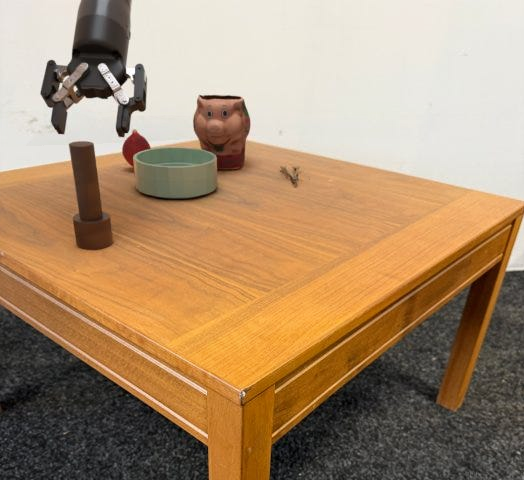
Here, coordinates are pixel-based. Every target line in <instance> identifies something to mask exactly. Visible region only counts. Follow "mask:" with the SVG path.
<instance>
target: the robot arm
mask: <svg viewBox="0 0 524 480" xmlns="http://www.w3.org/2000/svg"><path fill="white" fill-rule="evenodd" d="M132 5H133V0H80V3H79V5H78V8H77V15H76V22H75V28H74V34H73V40H72V41H73V42H72V47H71V59H70V61H69V62H68V64H67V65H63V64H57V62H56V61H55V60H54V59H49V60H47V62H46V66H45V70H44V75H43V80H42V84H41V89H40V91H39V92H40V96H41V98H42V99H43V101H44V103H45V104H46V106H47V108H49V109H52V110H51V116H50V123H51V125H52V127H53V129H54V130H55V131H56V132H57V134H58V135H65V134H66V126H67V120H68V110H69V109H70V108H71V107H72V106H73V105H74V104H75V105H76V104H79V103H80V102H81V101H82V100H83V99H84V98H85V99H95V98H97V99H101V100H108V99H109V98H110V97H112V98H113V99H114V101H115V102H116V104H117V111H116V112H117V113H116V119H115V120H116V122H115V131H116V134H117V136H118V137H119V138H125V136H126V134H129V132H130V129H131V120H132V114H133V113H134V112H137V111H138V112H139V113H140V112H141V113H143V112H145V111H146V109H147V93H148V77H147V73H146V70H145V66H144V64H143V63H137V64H135V66H134V67H127V62H128V53H129V45H130V40H131V37H132V36H131V34H132V33H131V30H132V29H131V28H132V21H131V20H132V19H131V15H132ZM66 77H67V78H66ZM65 78H66V79H65ZM64 79H65V80H64ZM128 80H130V81H131V84H132V85H133V96H131V97H128V96H127V94H126V93H125V92H124V90H123V88H122V86H123V85H124V84H125V83H126V82H127V81H128ZM61 84H62V85H61ZM60 85H61V87H60ZM75 88H76V90H75Z"/></svg>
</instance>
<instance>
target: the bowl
mask: <svg viewBox="0 0 524 480" xmlns="http://www.w3.org/2000/svg"><path fill="white" fill-rule="evenodd" d="M133 162H134V167H133V172H134V183H135V184H134V185H135V188H136V189H137V191H138V192H139V193H143V194H145V195H147V196H152V197H155V198H160V199H170V200H178V199H179V200H180V199H192V198H197V197H201V196H205V195H208V194H210V193H213V192H214V191H216V189H217V188H218V169H217V157H216V155H215V154H213V153H212V152H209V151H206V150H202V149H201V148H196V147H195V148H194V147H186V146H185V147H183V146H167V147H155V148H151V149H148V150H144V151H141V152H138V153H136V154H135V155H134V157H133Z"/></svg>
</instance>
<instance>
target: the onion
mask: <svg viewBox="0 0 524 480" xmlns="http://www.w3.org/2000/svg"><path fill="white" fill-rule="evenodd" d="M131 131H132V132H131V134H130V135H129V136H128V137H127V138H126V139H125V140H124V141H123V144H122V147H121V150H122V151H121V152H122V156H123V158H124V160H125V161H126V162H127V164H129V165H130V166H131V167H133V168H134V162H133V157H134V155H135V154H136V153H138V152H141V151H144V150H148V149H152V148H151V145H150V143H149V141H148V140H147V139H146V138H145V136H143V135H141V134H140V133H139V132H138V130H137V129H135V128H133V129H132V130H131Z"/></svg>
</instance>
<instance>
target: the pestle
mask: <svg viewBox="0 0 524 480" xmlns="http://www.w3.org/2000/svg"><path fill="white" fill-rule="evenodd" d="M68 149H69V156H70V163H71V169H72V175H73V181H74V182H73V183H74V188H75V195H76V203H77V209H78V212H77V213H76V214H74V215H73V216H72V223H73V230H74V236H75V237H74V238H75V243H76V246H77V247H78V248H81V249H83V250H92V251H93V250H102V249H106V248H108V247H110V246H112V245H113V243H114V238H113V230H112V229H113V228H112V221H111V215H110V214H109V213H108V212H106V211H103V206H102V199H101V198H102V197H101V190H100V183H99V175H98V166H97V160H96V151H95V144H94V142H92V141H85V140H79V141H78V140H77V141H72V142H70V143H68Z"/></svg>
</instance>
